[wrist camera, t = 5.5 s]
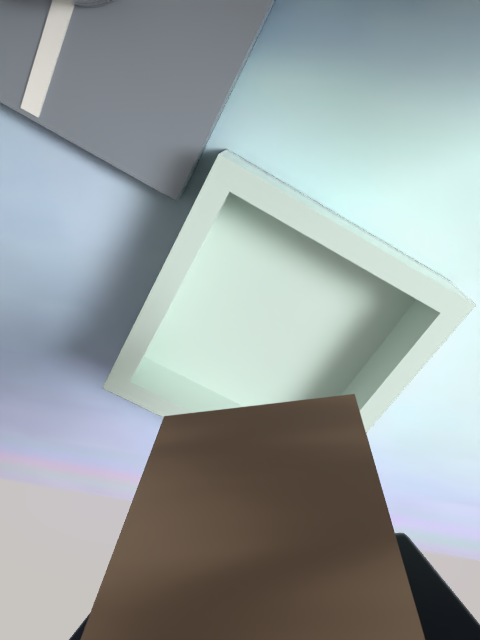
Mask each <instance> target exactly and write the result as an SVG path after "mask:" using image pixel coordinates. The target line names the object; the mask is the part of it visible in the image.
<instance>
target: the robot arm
mask: <svg viewBox="0 0 480 640" xmlns="http://www.w3.org/2000/svg"><path fill="white" fill-rule="evenodd" d="M395 536H396V540H397V543H398V546H399V550H400V553H401V557H402V560H403V564H404V567H405V571H406V574H407V578H408V581H409V585H410V588H411V592H412V595H413V599H414V602H415V606H416V609H417V613H418V616H419V620H420V623H421V627H422V630H423V634H424V637H425V640H480V624H479V623H478V622H477V620H476V619H475V618H474V617H473V616H472V614H471V613H470V612H469V611H468V609H467V608H466V607H465V606H464V604H463V603H462V602H461V601H460V600H459V598H458V597H457V596H456V595H455V593H454V592H453V591H452V590H451V589H450V587H449V586H448V585H447V584H446V583H445V581H444V580H443V579H442V578H441V576H440V575H439V574H438V573H437V571H436V570H435V569H434V568H433V566H432V565H431V564H430V563H429V562H428V560H427V559H426V558H425V557H424V556H423V554H422V553H421V552H420V550H419V549H418V548H417V547H416V546H415V544H414V543H413V542H412V541H411V539H410V538H409V537H408V536H407V535H406V534H404V533H395ZM89 616H90V614H89V615H88V616H87V618H86V619H85V620H84V621H83V623H82V624H81V625H80V627H79V628H78V629H77V630H76V632H75V633H74V634H73V635H72V637H71V638H70V639H69V640H81V637H82V634H83V632H84V629H85V626H86V624H87V621H88V618H89Z"/></svg>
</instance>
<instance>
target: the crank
mask: <svg viewBox="0 0 480 640" xmlns="http://www.w3.org/2000/svg"><path fill="white" fill-rule="evenodd" d="M66 1H68V2H70V3H72V4H76V5H79V6H85V7H97V6H103V5H106V4H109V3H111V2H113V1H115V0H66Z"/></svg>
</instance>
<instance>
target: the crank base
mask: <svg viewBox="0 0 480 640" xmlns="http://www.w3.org/2000/svg"><path fill="white" fill-rule="evenodd" d="M274 2H275V0H115V1H113V2H111V3H109V4H106V5H103V6H97V7H85V6H79V5H76V4H72V3H70V2H68V1H66V0H0V103H2V104H4V105H6V106H8V107H9V108H11V109H13V110H15V111H16V112H18V113H20V114H22V115H24V116H25V117H27V118H29V119H31V120H32V121H34V122H36V123H38V124H40V125H41V126H43V127H45V128H47V129H48V130H50V131H52V132H54V133H56V134H57V135H59V136H61V137H63V138H64V139H66V140H68V141H70V142H72V143H73V144H75V145H77V146H79V147H81V148H82V149H84V150H86V151H88V152H89V153H91V154H93V155H95V156H97V157H98V158H100V159H102V160H104V161H105V162H107V163H109V164H111V165H113V166H114V167H116V168H118V169H120V170H121V171H123V172H125V173H127V174H129V175H130V176H132V177H134V178H136V179H137V180H139V181H141V182H143V183H145V184H146V185H148V186H150V187H152V188H153V189H155V190H157V191H159V192H161V193H162V194H164V195H166V196H168V197H170V198H171V199H173V200H175V201H177V200H178V199H180V198H181V196H182V194H183V192H184V190H185V188H186V186H187V183H188V181H189V179H190V177H191V175H192V173H193V171H194V169H195V167H196V165H197V163H198V161H199V158H200V156H201V154H202V152H203V150H204V148H205V146H206V144H207V142H208V140H209V138H210V136H211V134H212V131H213V129H214V127H215V125H216V123H217V121H218V119H219V117H220V115H221V113H222V111H223V109H224V106H225V104H226V102H227V100H228V98H229V96H230V94H231V92H232V90H233V88H234V86H235V84H236V81H237V79H238V77H239V75H240V73H241V71H242V69H243V67H244V65H245V63H246V61H247V59H248V56H249V54H250V52H251V50H252V48H253V46H254V44H255V42H256V40H257V38H258V36H259V34H260V32H261V29H262V27H263V25H264V23H265V21H266V19H267V17H268V15H269V13H270V11H271V9H272V7H273V4H274Z"/></svg>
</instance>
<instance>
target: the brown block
mask: <svg viewBox="0 0 480 640" xmlns="http://www.w3.org/2000/svg"><path fill="white" fill-rule="evenodd" d="M81 640H425V637H424V634H423V630H422V627H421V623H420V620H419V616H418V613H417V609H416V606H415V602H414V599H413V595H412V592H411V588H410V585H409V581H408V578H407V574H406V571H405V567H404V564H403V560H402V557H401V553H400V550H399V546H398V543H397V540H396V536H395V533H394V529H393V526H392V522H391V519H390V515H389V512H388V508H387V505H386V501H385V498H384V494H383V491H382V487H381V484H380V480H379V477H378V473H377V470H376V466H375V463H374V459H373V456H372V452H371V449H370V445H369V442H368V439H367V435H366V432H365V428H364V425H363V421H362V418H361V414H360V411H359V407H358V404H357V400H356V397H355V394H349V395H340V396H332V397H323V398H315V399H306V400H298V401H289V402H281V403H272V404H264V405H255V406H247V407H238V408H229V409H221V410H212V411H204V412H195V413H187V414H178V415H170V416H164V419H163V421H162V424H161V427H160V429H159V432H158V435H157V437H156V440H155V443H154V445H153V448H152V451H151V453H150V456H149V459H148V461H147V464H146V466H145V469H144V472H143V474H142V477H141V480H140V482H139V485H138V488H137V490H136V493H135V496H134V498H133V501H132V504H131V506H130V509H129V512H128V514H127V517H126V520H125V522H124V525H123V528H122V530H121V533H120V536H119V539H118V541H117V544H116V546H115V549H114V552H113V554H112V557H111V560H110V562H109V565H108V568H107V570H106V574H105V576H104V578H103V581H102V584H101V586H100V589H99V592H98V594H97V597H96V600H95V602H94V605H93V608H92V611H91V613H90V616H89V618H88V621H87V624H86V626H85V629H84V632H83V634H82V637H81Z"/></svg>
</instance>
